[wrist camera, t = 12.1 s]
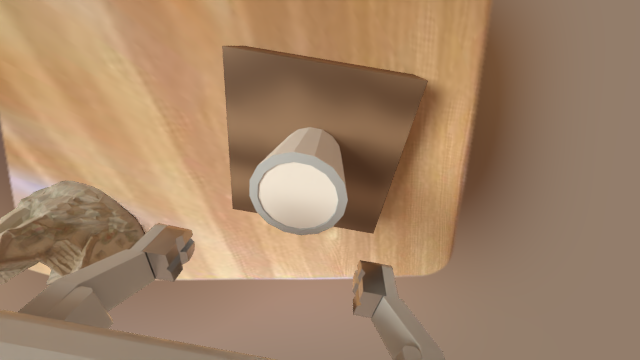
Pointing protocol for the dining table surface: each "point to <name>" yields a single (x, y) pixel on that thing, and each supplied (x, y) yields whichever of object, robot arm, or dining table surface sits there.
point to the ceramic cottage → (64, 230)
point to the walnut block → (319, 120)
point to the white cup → (301, 183)
